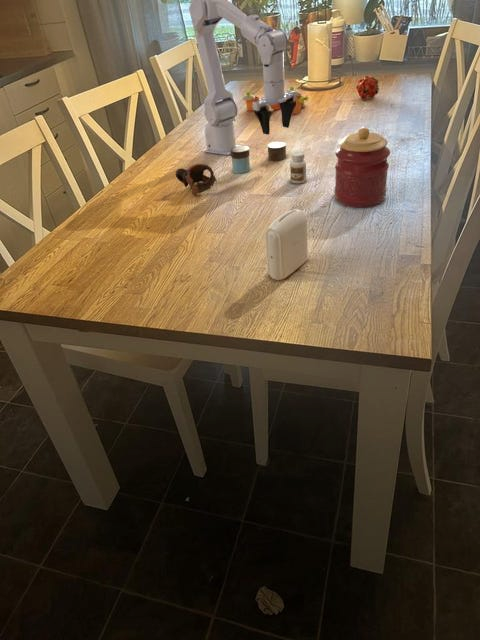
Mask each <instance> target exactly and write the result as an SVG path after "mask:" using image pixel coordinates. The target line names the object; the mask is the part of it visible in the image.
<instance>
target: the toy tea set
mask: <svg viewBox="0 0 480 640" xmlns="http://www.w3.org/2000/svg"><path fill="white" fill-rule="evenodd" d="M290 91H294V92H296V99H294V100H293V101H296V106H295V108H294V110H293V113H292V115H298V114H299V113H300V112H301V108H304V107H306V106H307V103H306V102H307V101H309V97H308V96H304V95H303V94H302V93H301V92H300V91H299V90H297V89H295V88H294V86H293V85H291V86H290V87H289V89H288V90H286V91H285V92H290ZM242 100H243V101H245V106H246V109H247V111H249V112H254V110H253V102H256V101H258V100H260V96H258V95H253V94H251V92H250V91H246V95H243V97H242ZM305 101H306V102H305ZM266 109H268V110H269V111H271V114H272V113H273V112H274V110H281V109H280V105H279V104H275V105H272V106H269V107H266Z"/></svg>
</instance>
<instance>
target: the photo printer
mask: <svg viewBox="0 0 480 640" xmlns="http://www.w3.org/2000/svg"><path fill="white" fill-rule="evenodd" d="M265 242H266V243H265V244H266V257H267V272H268V276H270V278H271V279H273V280H275V281H276V280H277V281H282V280H284V279H287V277H289V276H290V275H292V274H293V273H294V272H295V271H296V270H298V269H299V268H300V267H301V266H302V265H303V264H305V262H306V261H307V260H308V255H309V253H308V251H309V250H308V249H309V248H308V217H307V215H306V212H304V210H301V209H298V208H296V209H295V208H294V209H290V210H287V211H286V212H283V213H282V214H280V215H279V216H278V217H276V219H275V220H273V222H272V223H271V224H270V225H269V226H268V227H267V229H266V231H265Z"/></svg>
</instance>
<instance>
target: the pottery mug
mask: <svg viewBox="0 0 480 640" xmlns="http://www.w3.org/2000/svg"><path fill="white" fill-rule="evenodd" d="M205 171H208V172H209V174H210V176H208V175H206V174H204V173H205ZM175 177H176V179H177V180H178V181H179V182H180V183H182V184H183V185H184V188H187V187H188V186H189V187H191V191H190V193H191V195H192V196H195V197H198V195H199V194H201V193H204V192H206V191H209V190H210V189H211V188H212V187H213V186H214V185H215V183H216V182H217V177H216V176H215V172H214V171H213V169H212V167H211V166H209V165H208V164H204V163H195V164H193V165H191V166H190V167H189V168H188V169H186V168H178V169H177V170H176V171H175Z"/></svg>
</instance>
